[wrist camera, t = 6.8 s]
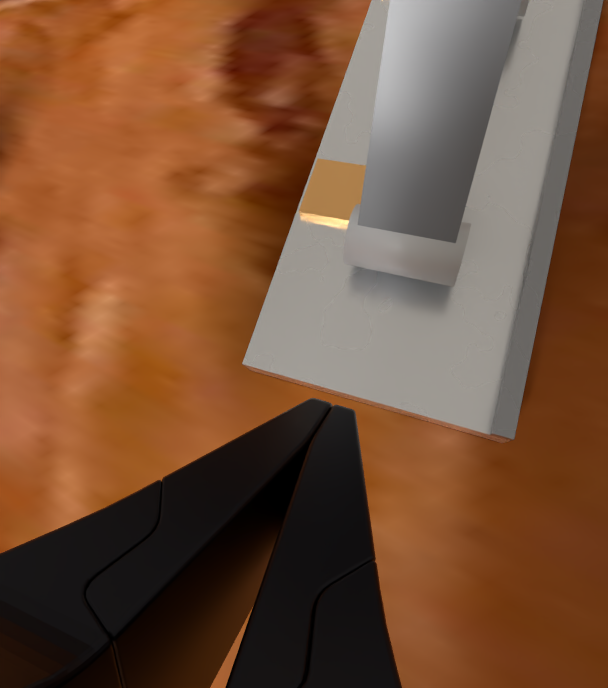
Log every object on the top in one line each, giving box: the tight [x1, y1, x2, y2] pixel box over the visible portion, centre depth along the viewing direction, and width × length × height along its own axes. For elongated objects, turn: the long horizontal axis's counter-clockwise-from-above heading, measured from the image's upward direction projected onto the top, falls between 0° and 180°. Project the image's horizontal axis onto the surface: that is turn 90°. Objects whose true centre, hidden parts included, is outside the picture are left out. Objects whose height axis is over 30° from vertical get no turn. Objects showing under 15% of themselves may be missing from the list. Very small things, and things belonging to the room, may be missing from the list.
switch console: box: [242, 0, 603, 443], centre depth 17 cm, size 20×9×1 cm, turn 162°
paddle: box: [343, 0, 522, 287], centre depth 11 cm, size 2×4×13 cm
